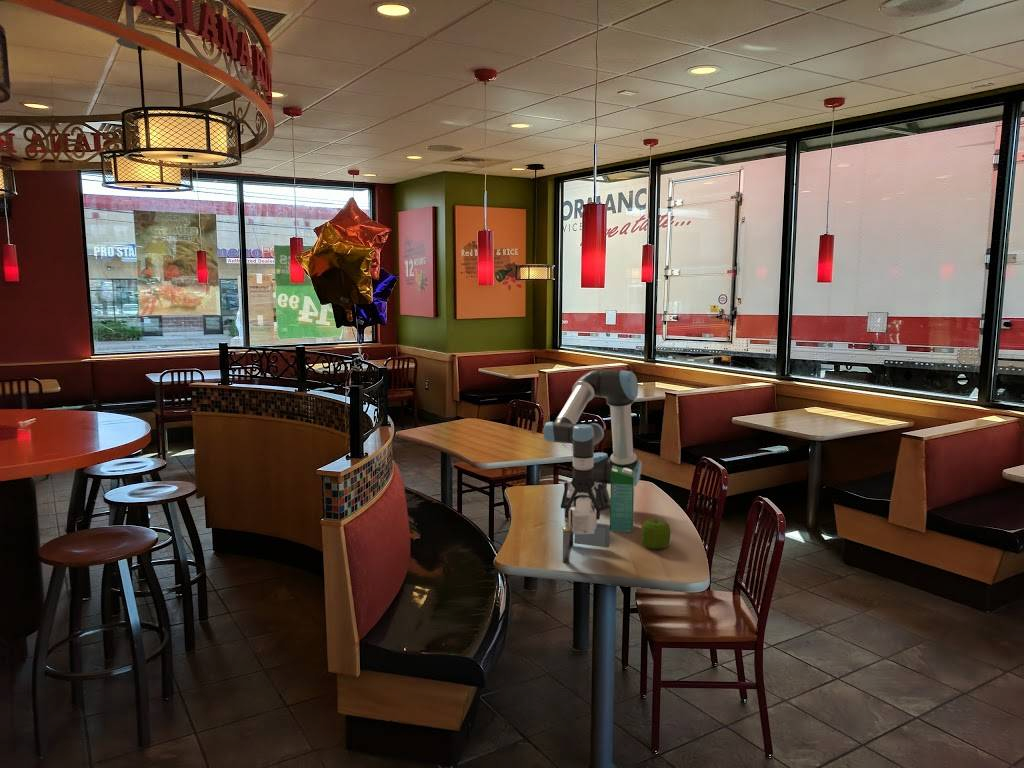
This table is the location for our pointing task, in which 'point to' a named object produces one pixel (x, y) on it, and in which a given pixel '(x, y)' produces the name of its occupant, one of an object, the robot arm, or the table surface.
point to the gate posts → (567, 541)
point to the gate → (595, 537)
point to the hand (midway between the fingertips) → (582, 526)
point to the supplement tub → (569, 494)
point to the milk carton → (622, 499)
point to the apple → (655, 533)
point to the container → (582, 515)
